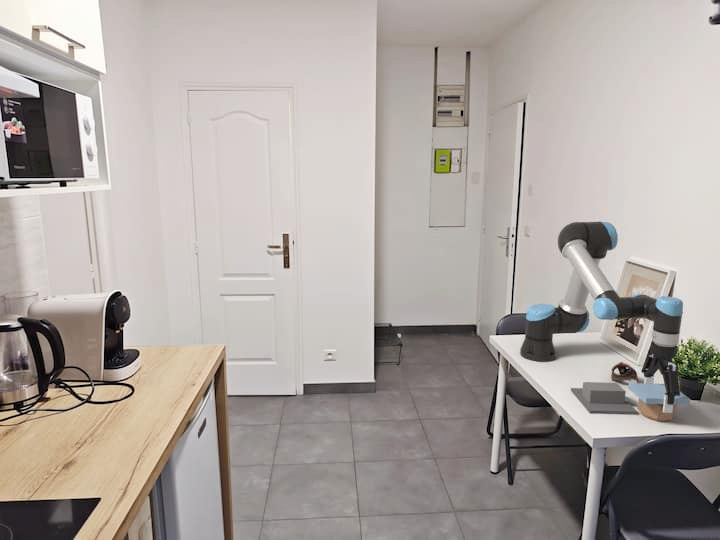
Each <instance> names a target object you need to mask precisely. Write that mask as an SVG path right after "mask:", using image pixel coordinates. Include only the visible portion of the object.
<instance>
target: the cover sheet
mask: <svg viewBox="0 0 720 540" xmlns="http://www.w3.org/2000/svg"><path fill="white" fill-rule="evenodd" d="M627 388H628V390H629V391H630V392H632V393H633V394H634V395H635V396H636V397H637V398H638V399H639V398H640V399H641V400H642V401H643V402H644V403H645V404H664V396H665V394H664V393H667V392H666V388H665V384H664V383H653V384H645V383H644V382H643V383H637V382H635V383H634V382H629V383H628V386H627ZM673 405H676V406H677V405H679V406H680V405H681V406H690V405H691V398H689V397H688V396H687V395H685V394H684V393H683V392H682V391H680V396H675V398H674V404H673Z"/></svg>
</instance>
